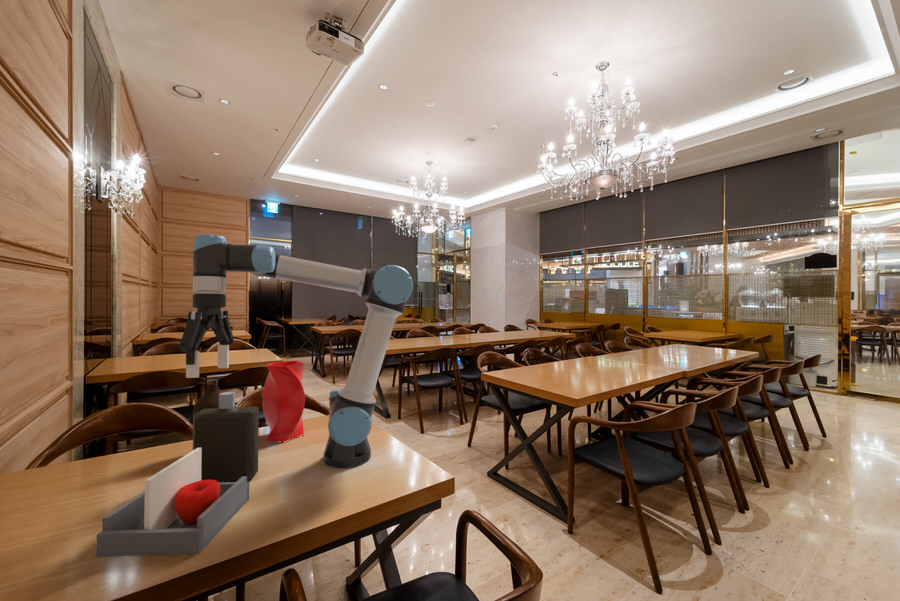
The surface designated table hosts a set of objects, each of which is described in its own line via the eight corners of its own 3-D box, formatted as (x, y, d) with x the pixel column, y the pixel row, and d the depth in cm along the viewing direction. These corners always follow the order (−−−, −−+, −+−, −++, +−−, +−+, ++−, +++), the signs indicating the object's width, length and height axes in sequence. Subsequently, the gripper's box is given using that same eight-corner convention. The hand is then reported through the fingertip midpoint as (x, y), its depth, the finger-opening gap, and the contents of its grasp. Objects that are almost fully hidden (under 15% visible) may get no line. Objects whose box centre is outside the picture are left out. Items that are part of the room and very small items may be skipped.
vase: (280, 428, 150) (280, 360, 151) (313, 429, 149) (314, 360, 149) (257, 442, 135) (257, 366, 136) (294, 443, 134) (294, 367, 134)
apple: (202, 531, 81) (203, 495, 81) (163, 530, 81) (164, 495, 81) (228, 508, 90) (228, 476, 90) (192, 508, 90) (193, 476, 90)
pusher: (201, 498, 94) (201, 447, 94) (149, 543, 76) (149, 480, 76) (176, 499, 93) (177, 448, 93) (118, 544, 76) (119, 481, 76)
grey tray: (249, 498, 96) (249, 472, 96) (199, 553, 75) (199, 519, 75) (169, 500, 95) (170, 473, 95) (96, 556, 74) (96, 521, 74)
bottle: (251, 483, 104) (251, 395, 105) (188, 488, 101) (189, 397, 102) (260, 470, 112) (261, 389, 112) (202, 475, 109) (203, 391, 110)
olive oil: (186, 461, 119) (187, 384, 119) (200, 448, 129) (201, 377, 129) (222, 458, 121) (223, 382, 121) (234, 446, 131) (234, 376, 132)
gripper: (221, 294, 111) (220, 364, 110) (161, 291, 86) (160, 382, 86) (247, 294, 111) (246, 364, 111) (194, 291, 86) (193, 382, 86)
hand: (208, 372), depth 98 cm, fingers open, 13 cm apart
